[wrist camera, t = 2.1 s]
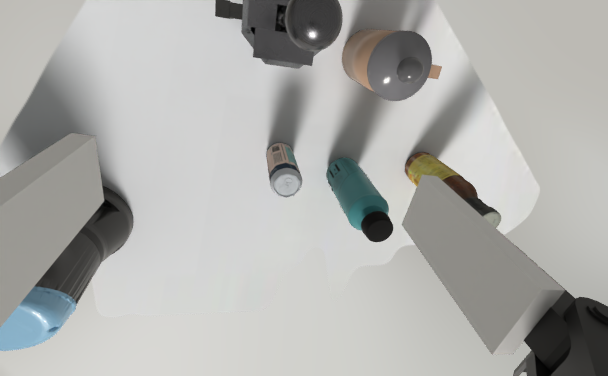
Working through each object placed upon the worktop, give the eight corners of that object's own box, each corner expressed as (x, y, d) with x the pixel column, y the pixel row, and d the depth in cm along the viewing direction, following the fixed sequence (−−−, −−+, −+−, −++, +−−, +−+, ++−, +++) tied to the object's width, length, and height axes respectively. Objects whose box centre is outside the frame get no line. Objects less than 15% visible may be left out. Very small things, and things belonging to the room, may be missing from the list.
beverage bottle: (329, 150, 56) (366, 208, 39) (362, 156, 58) (411, 215, 41) (319, 181, 59) (349, 248, 42) (350, 186, 61) (392, 253, 43)
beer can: (262, 161, 55) (265, 194, 45) (271, 138, 53) (277, 166, 43) (287, 169, 57) (295, 203, 46) (296, 146, 55) (308, 176, 44)
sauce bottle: (397, 172, 61) (456, 232, 44) (416, 145, 59) (486, 197, 41) (421, 184, 63) (486, 245, 46) (440, 158, 61) (516, 213, 44)
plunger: (253, 46, 35) (258, 70, 18) (257, -20, 32) (269, -63, 15) (306, 54, 37) (358, 84, 20) (315, -8, 34) (385, -36, 17)
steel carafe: (223, 46, 45) (213, 57, 32) (225, -29, 41) (214, -52, 27) (301, 58, 48) (323, 73, 34) (311, -12, 44) (339, -25, 30)
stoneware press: (336, 79, 50) (373, 104, 36) (347, 23, 46) (393, 26, 32) (396, 88, 52) (453, 114, 38) (411, 35, 49) (481, 42, 34)
